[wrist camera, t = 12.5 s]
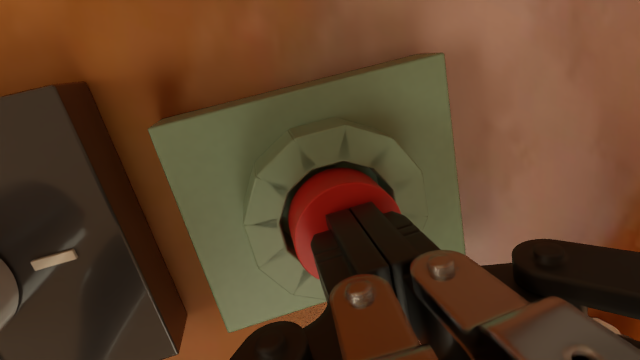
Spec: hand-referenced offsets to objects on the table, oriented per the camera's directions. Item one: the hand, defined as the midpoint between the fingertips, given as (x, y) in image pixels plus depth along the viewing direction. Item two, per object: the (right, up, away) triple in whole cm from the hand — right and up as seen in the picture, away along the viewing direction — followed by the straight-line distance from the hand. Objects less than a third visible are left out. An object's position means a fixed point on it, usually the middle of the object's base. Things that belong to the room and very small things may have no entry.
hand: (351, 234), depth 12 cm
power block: (-1, +2, +5) cm, 5 cm away
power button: (0, 0, +2) cm, 2 cm away
